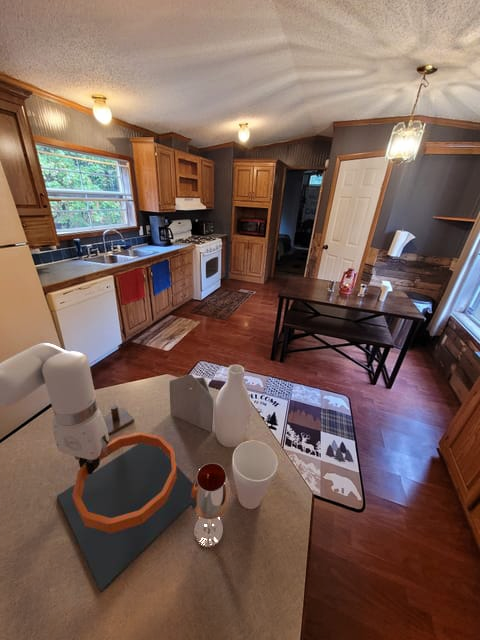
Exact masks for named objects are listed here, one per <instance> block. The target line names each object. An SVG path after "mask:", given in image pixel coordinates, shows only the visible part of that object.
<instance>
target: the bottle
mask: <svg viewBox="0 0 480 640" xmlns="http://www.w3.org/2000/svg"><path fill="white" fill-rule="evenodd" d="M244 373H245V368H244V367H243V365H241V364H231V365H229V366H228V368H227V381H226V382H225V383H224V384H223V386H222V387H221V388H220V390H219V392H218V394H217V397H216V399H215V402H214V406H213V423H214V424H213V425H214V430H215V431H214V432H215V437H216V440H217V442H218V443H219V444H220V445H222V446H223V447H226V448H235V447H237V446H238V445H240V444H241V443H243V442H245V438H246V435H247V432H248V429H249V425H250V421H251V416H252V401H251V397H250V393H249V390H248V389H247V387H246V386H245V385H246V384H244Z"/></svg>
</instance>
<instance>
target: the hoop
mask: <svg viewBox="0 0 480 640" xmlns="http://www.w3.org/2000/svg"><path fill="white" fill-rule="evenodd" d="M139 443H143V444H148V445H152V446H156V447H159V448H160V449H161V450H162V451H163V452H164V453H165V454H166V455H167V456H168V457H169V458H170V459H171V469H172V471H171V473H170V475H169V477H168V479H167V481H166V484H165V486H164V488H163V490H162V492H160V493H159V494H158V495H157V496H156V497H155V498H153V499H152V500H151V501H150V502H149V503H147V504H146V505H145V506H144V507H143V508H142V509H140V510H139V511H135V512H132V513H128V514H125V515H122V516H118V517H115V518H108V517H104V516H101V515H97V514H94V513H90V512H88V511H87V509H86V508H85V506H84V504H83V502H82V500H81V497H82V493H83V488H84V483H85V479H86V478H87V477H88V476H89V475H90V474H88V471H87V467H86V463H85V464H84V465H83V466H82V467H81V468H80V467H79V469H78V471H77V475H76V479H75V483H74V485H75V486H74V490H73V494H72V497H73V500H74V504H75V506H76V508H77V510H78V512H79V514H80V516H81V518H82V520H83V522H84V524H85V525H86V526H88V527H91V528H94V529H98V530H101V531H105V532H108V533H114V532H117V531H120V530H124V529H127V528H130V527H133V526H137V525H140V524H142V523H144V522H145V521H146V520H147V519H148V518H149V517H150V516H151V515H153V514H154V513H155V512H156V511H157V510H158V509H159V508H160V507H161V506H163V505H164V504H165V503H166V501H167V499H168V497H169V494H170V492H171V490H172V488H173V485H174V483H175V481H176V479H177V470H176V466H177V462H176V454H175V448H174V447H172V446H171V445H170V443H168V442H167V441H166V439H165V438H164V437H162V436H161V435H158V434H154V433H153V434H152V433H148V432H144V431H140V432H134V433H130V434H125V435H120V436H116V437H115V438H114V439H112V440H109V444H108V445H107V446H108V448H109V450H110V453H109V455H108V456H110V455H111V454H113V453H115V452H116V451H118V450H120V449H121V448H124V447H125V448H126V447H130V446H136V445H137V444H139ZM105 458H106V457H99V461H100V462H101V461H102V460H103V459H105Z"/></svg>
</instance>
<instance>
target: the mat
mask: <svg viewBox="0 0 480 640" xmlns="http://www.w3.org/2000/svg"><path fill="white" fill-rule="evenodd" d="M176 470H177V479H176V481H175V483H174V485H173V488H172V490H171V492H170V494H169V497H168V499H167V501H166V503H165V504H164V505H163V506H161V507H160V508H159V509H158V510H157V511H156V512H155V513H154V514H153V515H151V516H150V517H149V518H148V519H147V520H146V521H145V522H144V523H142V524H140V525H137V526H133V527H130V528H127V529H124V530H120V531H117V532H114V533H108V532H105V531H101V530H98V529H94V528H91V527H88V526H86V525H85V524H84V522H83V520H82V518H81V516H80V514H79V512H78V510H77V508H76V506H75V504H74V500H73V497H72V494H73V490H74V486H75V484H73V485H72V486H70V487H69V488H66V489H65V490H64V491H61V492H60V493H59V494H57V495H56V498H57V500H58V501H59V504H60V506H61V508H62V511H63V514H64V516H65V518H66V519H67V521H68V524H69V525H70V528H71V531H72V532H73V535H74V537H75V539H76V541H77V543H78V545H79V548H80V550H81V553H82V554H83V556H84V558H85V561H86V563H87V565H88V567H89V569H90V571H91V574H92V577H93V578H94V580H95V582H96V585H97V588H98V589H99V592H100V593H102V592H103V591H104V590H105V589H107V587H108V586H109V585H110V584H111V583H113V581H114V580H115V579H116V578H117V577H119V576H120V575H121V573H123V572H124V571H125V570H126V569H127V568H128V567H129V566H130V565H131V564H132V563H133V562H134V561H135V560H136V559H137V558H138V557H139V556H140V555H141V554H142V553H143V552H144V551H145V550H146V549H147V548H148V547H150V545H152V543H153V542H154V541H155V540H156V539H157V538H159V537H160V536H161V534H163V533H164V531H166V530H167V529H168V528H169V527H170V526H171V525H172V524H173V523H174V522H175V521H176V520H177V519H178V518H179V517H180V516H181V515H182V514H183V513H184V512H185V511H186V510H187V509H188V508H189V507H191V502H190V492H191V488H192V485H193V482H192V481H191V480H190V479H189V478H188V476H187V475H186V474H185V473H184V471H182V470H181V469H180V468H179V467H178V466H177V465H176ZM171 471H172V469H171V459H170V458H169V457H168V456H167V455H166V454H165V453H164V452H163V451H162V449H161V448H160V447H156V446H152V445H148V444H143V443H139V444H135V445H133V446H132V447H131V448H130V449H128V450H126V451H125V452H123V453H121V454H120V455H118V456H117V457H114V458H113V459H112V460H111V461H109V462H107V463H106V464H104V465H103V466H101V467H99V468H97V469H95V470H94V472H93V473H92V474H91V475H90V474H89V475H88V477H87V478H86V479H85V483H84V488H83V493H82V497H81V500H82V502H83V504H84V506H85V508H86V509H87V511H88V512H90V513H94V514H97V515H101V516H104V517H108V518H115V517H118V516H122V515H125V514H128V513H132V512H135V511H139V510H140V509H142V508H143V507H144V506H145V505H146V504H147V503H149V502H150V501H151V500H152V499H153V498H155V497H156V496H157V495H158V494H159V493H160V492H162V490H163V488H164V486H165V484H166V481H167V479H168V477H169V475H170V473H171ZM134 559H135V560H134ZM133 560H134V561H133ZM132 561H133V562H132ZM131 562H132V563H131ZM130 563H131V564H130ZM129 564H130V565H129ZM128 565H129V566H128ZM127 566H128V567H127ZM126 567H127V568H126Z"/></svg>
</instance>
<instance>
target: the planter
mask: <svg viewBox="0 0 480 640" xmlns="http://www.w3.org/2000/svg"><path fill="white" fill-rule="evenodd" d="M168 388H169V408H170V411H169V412H170V415H171V416H173V417H175V418H178V419H180V420H183V421H184V422H187V423H189V424H191V425H193V426H196V427H198V428H200V429H202V430H205V431H207V432H209V433H213V425H214V424H213V423H214V406H215V402H214V401H215V397H214V395H213V393H212V390H211V388H210V385H209V384H208V381H207V379H206V377H205V376H200V377H199V376H198V377H195V376H194V375H193V374H191V373H189V374H185V375H182V376H179V377H177V378H174V379H171V380H169V387H168Z"/></svg>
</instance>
